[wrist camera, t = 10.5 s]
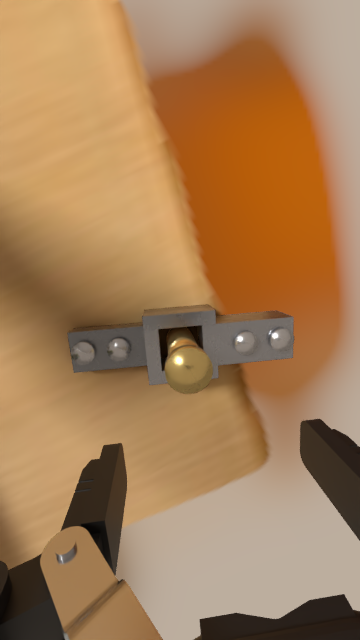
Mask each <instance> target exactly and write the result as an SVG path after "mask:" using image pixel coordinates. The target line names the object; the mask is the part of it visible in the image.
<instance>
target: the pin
mask: <svg viewBox="0 0 360 640" xmlns="http://www.w3.org/2000/svg"><path fill="white" fill-rule="evenodd" d="M166 339H167V349H168V357H167V359H166V362H165V376H166V380H167V382H168V384H169V385H170V386H171V387H172V388H173V389H174V390H176V391H178V392H180V393H184V394H192V393H196V392H199V391H201V390H202V389H204V388H205V387H206V386H207V385H208V384H209V382H210V380H211V378H212V375H213V366H212V362H211V360H210V358H209V357H208V355H207V353H206V352H205V351H204V350H203V349H201V348H200V347H198V345H197V343H196V341H195V339H194V337H193V335H192V333H191V331H190V330H189V329H188V328H186V327H176V328H171V329H170V330H169V332H168V334H167V338H166Z"/></svg>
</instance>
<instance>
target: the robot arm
mask: <svg viewBox="0 0 360 640" xmlns="http://www.w3.org/2000/svg"><path fill="white" fill-rule="evenodd" d="M300 454H301V458H302V461H303V463H304V465H305V466H306V468H307V470H308V471H309V472H310V473H311V475H312V476H313V478H314V479H315V480H316V482H317V483H318V485H319V486H320V487H321V489H322V490H323V491H324V493H325V494H326V495H327V497H328V498H329V499H330V501H331V502H332V503H333V505H334V506H335V508H336V509H337V510H338V512H339V513H340V514H341V516H342V517H343V519H344V520H345V521H346V522H347V524H348V525H349V527H350V528H351V529H352V531H353V532H354V533H355V535H356V536H357V538H358V539H359V540H360V447H359V446H357V444H356V443H355V442H354V441H352V440H351V439H350V438H349V437H348V436H346V435H345V434H343V433H341V432H339V431H337V430H335V429H331V428H329V427H328V426H327V425H326V424H325V423H324V422H323V421H322V420H321V419H314V420H306V421H302V422H301V428H300ZM126 491H127V474H126V467H125V460H124V453H123V446H122V443H118V444H110V445H104V446H103V449H102V452H101V456H100V459H95V460H91V461H90V462H89V463H88V464H87V465H86V467H85V468H84V469H83V470H82V473H81V476H80V479H79V483H78V484H77V487H76V490H75V493H74V495H73V498H72V501H71V504H70V507H69V509H68V512H67V515H66V518H65V521H64V523H63V526H62V529H61V531H60V532H59V533H57V534H56V535H55V536H54V537H53V538H52V539H51V540H50V541H49V542H48V543H47V545H46V546H45V548H44V550H43V552H42V554H40V555H39V556H37V557H35V558H33V559H32V560H29V561H27V562H25V563H23V564H21V565H19V566H16V567H14V568H12V569H10V570H8V568H7V565H6V564H5V563H4V562H2V561H0V640H163V639H162V637H161V636H160V634H159V633H158V631H157V629H156V628H155V626H154V625H153V623H152V622H151V620H150V618H149V617H148V615H147V614H146V612H145V610H144V609H143V607H142V606H141V604H140V603H139V601H138V599H137V598H136V596H135V595H134V593H133V591H132V590H131V588H130V587H129V585H128V584H127V583H126V581H125V580H123V579H122V580H121V581H120V582H119V581H118V580H117V578H116V577H115V575H116V567H117V559H118V552H119V544H120V537H121V529H122V521H123V514H124V506H125V499H126ZM200 629H201V635H200V636H199V637H197V638H195V639H194V640H360V611H356V610H353V609H352V608H351V606H350V604H349V602H348V601H347V599H346V597H345V595H344V594H342V595H337V596H331V597H325V598H319V599H314V600H309V601H307V602H306V603H304V604H303V605H301V606H299V607H298V608H296V609H294V610H293V611H291V612H290V613H288V614H286V615H285V616H283V617H281V618H279V619H270V618H263V617H257V616H251V615H245V614H239V613H234V614H228V615H222V616H216V617H210V618H205V619H200Z"/></svg>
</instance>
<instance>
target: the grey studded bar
mask: <svg viewBox="0 0 360 640" xmlns="http://www.w3.org/2000/svg"><path fill="white" fill-rule="evenodd" d="M142 320H143V322H142V323H130V324H119V325H108V326H96V327H85V328H74V329H72V330H71V331H69V332H68V333H67V334H68V340H69V346H70V352H71V358H72V364H73V370H74V373H76V372H86V371H96V370H106V369H116V368H126V367H136V366H147V367H148V377H149V385H156V384H166V383H168V382H167V380H166V376H165V362H166V359H167V357H165V358H161V348H160V337H159V329H165V328H176V327H187V326H197V334H198V347H200V348H201V349H203V350H204V351H205V352H206V353H207V355H208V357H209V358H210V360H211V362H212V366H213V375H212V378H211V379H214V378H219V377H218V365H227V364H237V363H247V362H257V361H267V360H277V359H286V358H293V343H294V336H293V317H292V316H289V315H287V314H284V313H282V312H279V311H266V312H255V313H243V314H232V315H221V316H216V315H215V310H214V309H213V308H212V307H211V306H209V305H196V306H185V307H173V308H161V309H149V310H144V313H143V316H142Z"/></svg>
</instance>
